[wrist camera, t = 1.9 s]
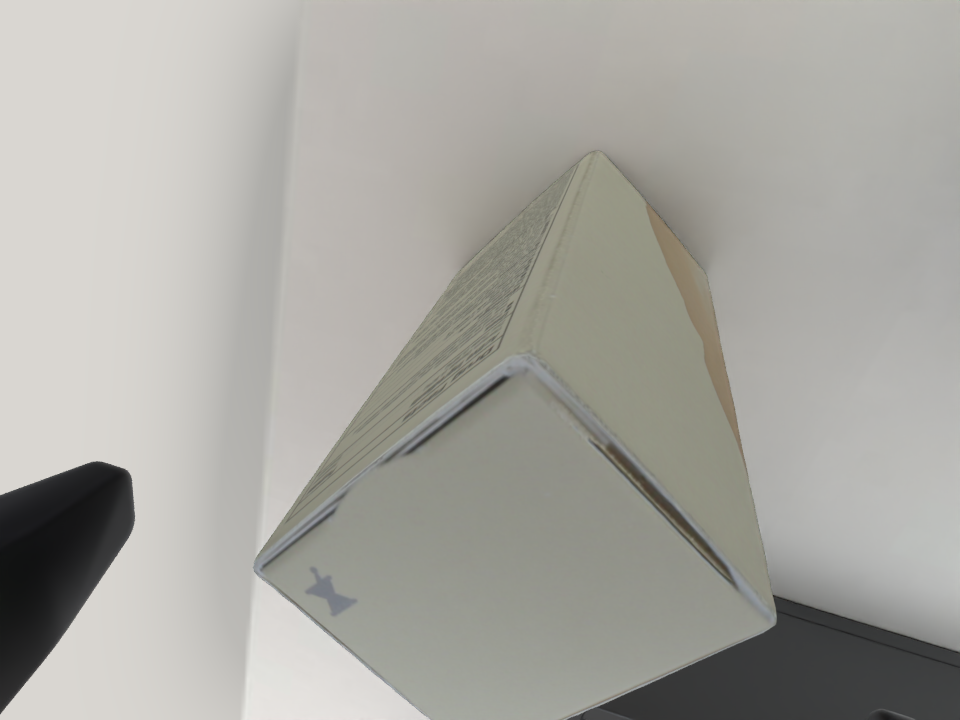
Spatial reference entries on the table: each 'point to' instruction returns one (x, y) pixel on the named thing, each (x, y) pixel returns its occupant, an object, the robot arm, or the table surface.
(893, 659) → the dark grey tray
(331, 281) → the table surface
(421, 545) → the box
